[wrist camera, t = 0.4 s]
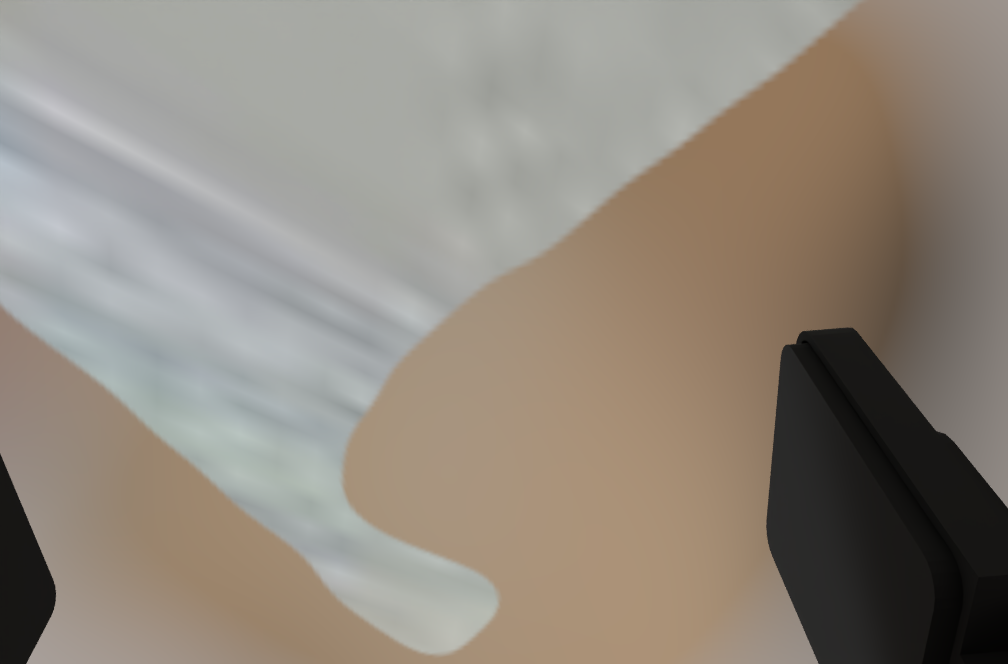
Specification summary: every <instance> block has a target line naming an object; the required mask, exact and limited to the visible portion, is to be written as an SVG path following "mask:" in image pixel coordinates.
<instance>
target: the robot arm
mask: <svg viewBox="0 0 1008 664" xmlns="http://www.w3.org/2000/svg"><path fill="white" fill-rule="evenodd" d="M766 528H767V537H768V544H769V547H770V551H771V554H772V557H773V558H774V561H775V563H776V566H777V568H778V570H779V573H780V575H781V577H782V579H783V582H784V584H785V587H786V589H787V591H788V594H789V596H790V598H791V601H792V603H793V605H794V608H795V610H796V612H797V614H798V617H799V619H800V621H801V624H802V626H803V628H804V631H805V633H806V635H807V638H808V640H809V642H810V645H811V647H812V649H813V651H814V654H815V656H816V659H817V661H818V663H819V664H1008V508H1007V507H1006V506H1005V504H1004V503H1003V502H1002V501H1001V499H1000V498H999V497H998V496H997V494H996V493H995V492H994V491H993V489H992V488H991V487H990V486H989V485H988V483H987V482H986V481H985V480H984V478H983V477H982V476H981V475H980V473H979V472H978V471H977V470H976V468H975V467H974V466H973V465H972V464H971V463H970V461H969V460H968V459H967V457H966V456H965V455H964V454H963V452H962V451H961V450H960V449H959V448H958V446H957V445H956V444H955V443H954V442H953V441H952V440H951V439H950V438H949V437H948V436H947V435H946V434H944V433H940V432H937V431H936V430H935V429H934V428H933V427H932V426H931V424H930V423H929V422H928V420H927V419H926V418H925V417H924V415H923V414H922V413H921V412H920V411H919V409H918V408H917V407H916V405H915V404H914V403H913V402H912V401H911V399H910V398H909V397H908V395H907V394H906V393H905V391H904V390H903V389H902V388H901V386H900V385H899V384H898V383H897V381H896V380H895V379H894V378H893V376H892V375H891V374H890V373H889V371H888V370H887V369H886V368H885V366H884V365H883V364H882V363H881V361H880V360H879V359H878V358H877V356H876V355H875V354H874V353H873V351H872V350H871V349H870V347H869V346H868V345H867V344H866V342H865V341H864V340H863V339H862V337H861V336H860V335H859V334H858V332H857V331H856V330H854V329H853V328H836V329H824V330H813V331H803V332H801V333H800V334H799V336H798V339H797V343H796V344H792V345H785V346H784V348H783V350H782V355H781V362H780V374H779V386H778V396H777V409H776V420H775V431H774V443H773V453H772V465H771V476H770V488H769V499H768V510H767V525H766ZM55 601H56V590H55V584H54V581H53V578H52V576H51V574H50V571H49V569H48V566H47V564H46V562H45V559H44V557H43V555H42V552H41V550H40V547H39V545H38V543H37V540H36V538H35V535H34V533H33V531H32V528H31V526H30V524H29V521H28V519H27V516H26V514H25V512H24V509H23V507H22V505H21V503H20V500H19V497H18V495H17V493H16V490H15V488H14V485H13V483H12V481H11V478H10V476H9V474H8V471H7V469H6V467H5V464H4V462H3V459H2V457H1V455H0V664H26V663H27V661H28V659H29V657H30V655H31V653H32V651H33V649H34V648H35V646H36V644H37V642H38V640H39V638H40V636H41V634H42V633H43V630H44V629H45V627H46V625H47V623H48V621H49V619H50V617H51V615H52V613H53V610H54V606H55Z"/></svg>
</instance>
